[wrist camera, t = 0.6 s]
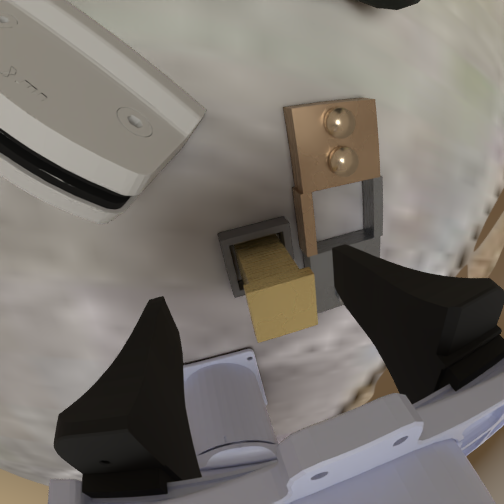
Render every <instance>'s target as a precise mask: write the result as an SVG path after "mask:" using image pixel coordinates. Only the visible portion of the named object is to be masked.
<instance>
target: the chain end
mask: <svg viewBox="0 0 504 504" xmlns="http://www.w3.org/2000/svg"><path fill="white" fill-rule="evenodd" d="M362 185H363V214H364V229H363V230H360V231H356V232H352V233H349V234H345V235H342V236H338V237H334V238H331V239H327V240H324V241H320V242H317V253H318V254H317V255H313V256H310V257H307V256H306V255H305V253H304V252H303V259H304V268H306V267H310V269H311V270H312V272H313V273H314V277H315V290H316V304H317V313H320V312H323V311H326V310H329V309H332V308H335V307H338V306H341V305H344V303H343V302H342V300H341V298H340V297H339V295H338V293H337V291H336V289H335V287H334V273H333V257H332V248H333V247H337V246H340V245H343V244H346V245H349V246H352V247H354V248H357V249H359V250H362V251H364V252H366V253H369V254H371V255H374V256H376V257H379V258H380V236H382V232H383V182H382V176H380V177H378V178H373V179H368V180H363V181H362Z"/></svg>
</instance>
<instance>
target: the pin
mask: <svg viewBox="0 0 504 504" xmlns="http://www.w3.org/2000/svg"><path fill="white" fill-rule="evenodd" d="M234 249H235V253H236V257H237V262H238V266H239V270H240V274H241V278H242V280H243V283H244V285H243V287H244V291H245V295H246V299H247V303H248V308H249V312H250V316H251V320H252V324H253V328H254V332H255V336H256V339H257V341H258V343H259V342H263V341H266V340H270V339H273V338H276V337H280V336H283V335H286V334H289V333H293V332H296V331H299V330H302V329H305V328H308V327H311V326H314V325H317V324H318V319H317V304H316V290H315V277H314V273H313V272H312V270H311V269H310V267H306V268H302V269H299V268H298V266H297V265H296V263H295V262H294V260H293V259H292V257H291V256H290V254H289V253H288V251H287V250H286V248H285V247H284V246H283V244H282V243H281V241H280V240H279V238H278V237H277V235H276V234H271V235H267V236H264V237H260V238H256V239H252V240H249V241H245V242H241V243H237V244H234Z"/></svg>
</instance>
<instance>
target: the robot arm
mask: <svg viewBox="0 0 504 504" xmlns="http://www.w3.org/2000/svg"><path fill="white" fill-rule="evenodd" d="M332 257H333V273H334V287H335V289H336V291H337V293H338V295H339V297H340V298H341V300H342V302H343V303H344V305H345V306H346V308H347V309H348V310H349V312H350V313H351V314H352V316H353V317H354V318H355V320H356V321H357V322H358V324H359V325H360V326H361V327H362V329H363V330H364V331H365V333H366V334H367V335H368V337H369V338H370V339H371V341H372V342H373V344H374V345H375V347H376V349H377V350H378V352H379V354H380V356H381V357H382V359H383V361H384V363H385V365H386V366H387V368H388V370H389V372H390V374H391V376H392V378H393V380H394V382H395V384H396V386H397V389H398V391H399V393H400V394H398V393H393V394H390V395H386V396H383V397H380V398H378V399H376V400H373V401H371V402H369V403H367V404H364V405H362V406H360V407H357V408H355V409H352V410H350V411H348V412H345V413H343V414H340V415H338V416H335V417H332V418H330V419H327V420H324V421H322V422H319V423H316V424H313V425H310V426H308V427H305V428H303V429H301V430H299V431H297V432H294V433H292V434H290V435H289V436H288V437H287V438H286V439H284V440H283V441H282V442H281V443H280V444H278V442H277V439H276V436H275V433H274V430H273V427H272V424H271V421H270V418H269V415H268V412H267V409H266V405H267V404H268V403H267V399H266V395H265V392H264V388H263V384H262V380H261V377H260V373H259V369H258V366H257V362H256V358H255V354H254V351H253V350H252V349H245V350H241V351H238V352H234V353H230V354H227V355H223V356H219V357H215V358H211V359H207V360H203V361H199V362H195V363H191V364H187V365H183V353H182V347H181V341H180V335H179V331H178V329H177V327H176V324H175V322H174V320H173V318H172V315H171V313H170V311H169V309H168V306H167V304H166V302H165V299H164V297H163V296H162V297H158V298H154V299H151V300H149V301H148V303H147V305H146V307H145V309H144V311H143V313H142V315H141V317H140V319H139V321H138V322H137V324H136V326H135V328H134V330H133V332H132V334H131V335H130V337H129V339H128V340H127V342H126V344H125V345H124V347H123V349H122V350H121V352H120V353H119V355H118V356H117V358H116V359H115V360H114V362H113V363H112V364H111V366H110V367H109V368H108V369H107V370H106V372H105V373H104V374H103V375H102V376H101V377H100V378H99V380H98V381H97V382H96V383H95V384H94V385H93V386H92V387H91V388H90V389H89V390H88V391H87V392H86V393H85V394H84V395H83V396H81V397H80V398H79V399H78V400H77V401H76V402H74V403H73V404H72V405H71V406H69V407H68V408H67V409H65V410H64V411H63V412H61V413H60V414H59V416H58V421H57V426H56V432H55V439H54V449H55V450H56V452H57V453H58V455H59V456H60V457H61V458H63V459H64V460H65V461H66V462H67V463H69V464H70V465H71V466H73V467H74V468H75V469H77V470H78V471H80V472H81V473H82V474H83V478H82V481H79V480H76V479H50V483H49V495H48V504H496V503H495V501H494V500H493V498H492V496H491V495H490V493H489V492H488V490H487V489H486V487H485V485H484V484H483V482H482V481H481V479H480V477H479V476H478V474H477V473H476V471H475V470H474V468H473V467H472V465H471V464H470V462H469V461H468V459H467V457H466V456H467V455H468V454H470V453H471V452H472V451H473V450H475V449H476V448H477V447H478V446H480V445H481V444H482V443H483V442H485V441H486V440H487V439H488V438H489V437H491V435H493V434H494V433H495V432H496V431H497V430H499V429H500V428H501V427H502V426H503V425H504V339H503V338H502V337H501V336H500V335H499V334H501V329H500V328H499V327H498V326H497V322H498V319H499V317H500V314H501V311H502V308H503V305H504V290H503V289H502V288H501V287H500V286H498V285H497V284H496V283H495V282H494V281H492V280H491V279H490V278H457V277H448V276H441V275H435V274H430V273H425V272H421V271H417V270H413V269H410V268H406V267H403V266H400V265H397V264H394V263H392V262H389V261H386V260H384V259H381V258H379V257H376V256H374V255H371V254H369V253H366V252H364V251H362V250H359V249H357V248H354V247H352V246H349V245H346V244H343V245H340V246H337V247H333V248H332ZM248 357H250V358H248Z"/></svg>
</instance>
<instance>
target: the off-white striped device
mask: <svg viewBox="0 0 504 504" xmlns="http://www.w3.org/2000/svg"><path fill="white" fill-rule="evenodd" d="M205 112H206V109H205V108H204V107H203V106H202V105H200V104H199V103H198V102H197V101H196V100H195V99H193V98H192V97H191V96H190V95H189V94H188V93H186V92H185V91H184V90H183V89H182V88H180V87H179V86H178V85H177V84H176V83H174V82H173V81H172V80H171V79H170V78H168V77H167V76H166V75H165V74H164V73H162V72H161V71H160V70H159V69H157V68H156V67H155V66H154V65H152V64H151V63H150V62H149V61H147V60H146V59H145V58H144V57H142V56H141V55H140V54H139V53H137V52H136V51H135V50H133V49H132V48H131V47H130V46H128V45H127V44H126V43H124V42H123V41H122V40H120V39H119V38H118V37H116V36H115V35H114V34H112V33H111V32H110V31H108V30H107V29H106V28H104V27H103V26H102V25H100V24H99V23H97V22H96V21H95V20H93V19H92V18H91V17H89V16H88V15H86V14H85V13H83V12H82V11H81V10H79V9H78V8H76V7H75V6H73V5H72V4H71V3H69V2H68V1H66V0H0V176H2V177H3V178H5V179H6V180H8V181H9V182H11V183H12V184H14V185H15V186H17V187H19V188H20V189H22V190H24V191H25V192H27V193H29V194H30V195H32V196H34V197H36V198H38V199H40V200H42V201H44V202H46V203H48V204H50V205H52V206H54V207H56V208H58V209H61V210H63V211H65V212H68V213H70V214H72V215H75V216H78V217H80V218H83V219H86V220H89V221H92V222H94V223H97V224H106V223H109V222H110V221H112V220H113V219H115V218H116V217H118V216H119V215H121V214H122V213H123V212H125V211H126V210H127V209H128V208H129V207H130V205H131V204H132V203H133V202H134V201H135V200H136V198H137V197H138V196H139V195H140V194H141V192H142V191H143V190H144V189H145V188H146V187H147V186H148V184H149V183H150V182H151V181H152V180H153V179H154V178H155V177H156V176H157V175H158V174H159V172H160V171H161V170H162V169H163V168H164V167H165V166H166V165H167V164H168V162H169V161H170V160H171V159H172V158H173V157H174V156H175V155H176V154H177V153H178V152H179V151H180V150H181V148H182V147H183V146H184V145H185V143H186V141H187V140H188V138H189V137H190V135H191V134H192V133H193V131H194V130H195V128H196V127H197V125H198V124H199V122H200V121H201V119H202V118H203V116H204V114H205Z"/></svg>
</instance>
